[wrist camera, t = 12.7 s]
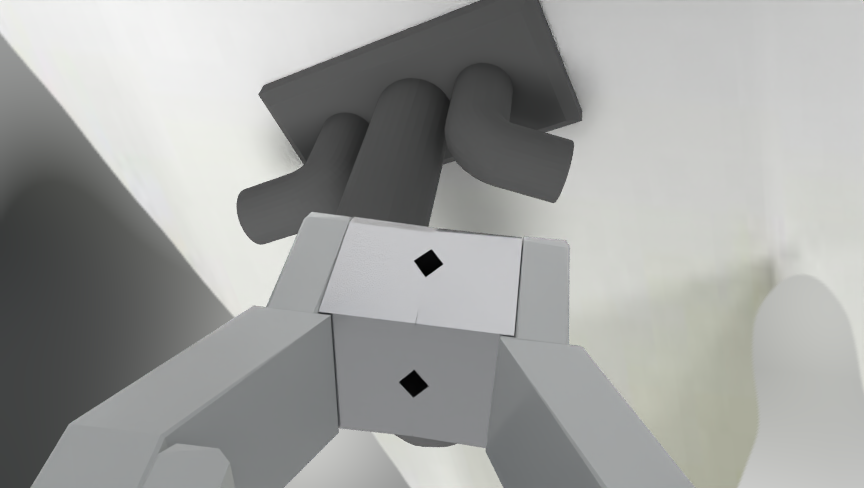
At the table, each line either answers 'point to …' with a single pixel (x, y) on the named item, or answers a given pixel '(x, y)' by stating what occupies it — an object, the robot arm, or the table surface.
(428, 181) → the faucet
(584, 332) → the table surface
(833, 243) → the table surface
